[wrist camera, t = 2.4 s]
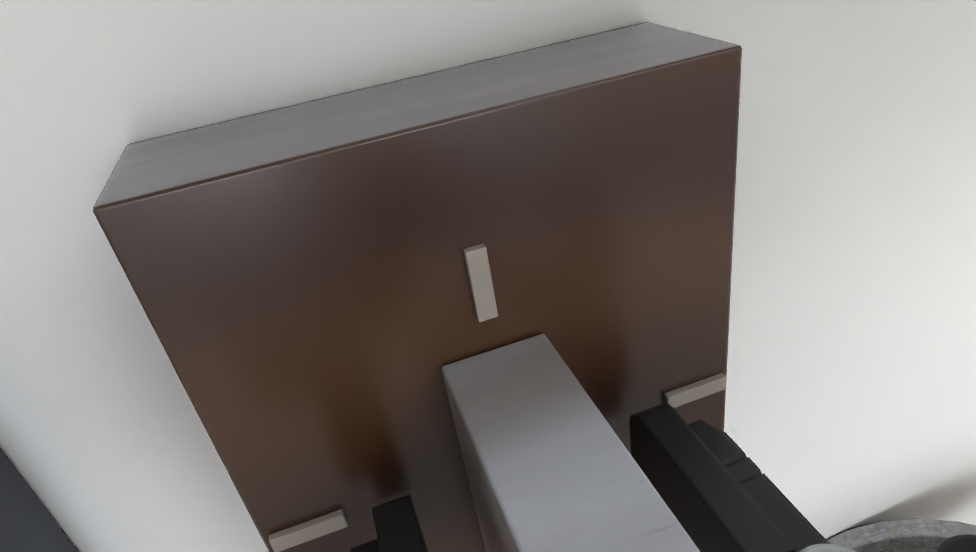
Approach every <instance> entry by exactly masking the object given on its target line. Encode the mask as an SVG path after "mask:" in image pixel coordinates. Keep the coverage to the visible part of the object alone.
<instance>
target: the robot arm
mask: <svg viewBox="0 0 976 552" xmlns="http://www.w3.org/2000/svg"><path fill="white" fill-rule="evenodd" d="M629 428H630V446H631V456H632V457H633V458H634V460H635V461H636V463H637V464H638V465H639V467H640V468H641V470H642V471H643V472H644V474H645V475H646V477H647V478H648V479H649V481H650V482H651V484H652V485H653V486H654V488H655V489H656V491H657V492H658V493H659V495H660V496H661V498H662V499H663V500H664V502H665V503H666V505H667V506H668V507H669V509H670V510H671V512H672V513H673V514H674V516H675V517H676V519H677V520H678V521H679V523H680V524H681V526H682V527H683V528H684V530H685V531H686V533H687V534H688V535H689V537H690V538H691V540H692V541H693V542H694V544H695V545H696V547H697V548H698V549H699V551H700V552H856V551H854V550H852V549H849V548H847V547H844V546H840V545H836V544H831V543H830V542H829V541H827V540H826V539H825V538H824V537H823V536H822V535H821V534H820V533H819V532H818V531H817V530H816V529H815V528H814V527H813V526H812V525H811V524H810V522H809V521H808V520H807V519H806V518H805V517H804V516H803V515H802V514H801V513H800V512H799V511H798V510H797V509H796V507H795V506H794V505H793V504H792V503H791V502H790V501H789V500H788V499H787V498H786V497H785V496H784V495H783V494H782V492H781V491H780V490H779V489H778V488H777V487H776V486H775V485H774V484H773V483H772V482H771V481H770V480H769V479H768V477H767V476H766V475H765V474H762V473H761V471H760V469H759V468H758V467H757V466H756V465H755V463H754V462H753V461H752V460H751V459H750V458H749V457H748V458H747V457H746V455H745V453H744V452H743V451H742V450H741V448H740V447H739V446H738V445H737V444H736V443H735V442H734V441H733V440H732V439H731V438H730V437H729V436H728V435H727V433H725V432H723V431H721V430H719V429H717V428H716V427H714V426H712V425H710V424H708V423H706V422H705V421H703V420H698V421H696V422H693V423H690V424H687V423H686V422H685V421H684V419H683V418H682V417H681V416H680V415H679V414H678V413H677V411H676V410H675V409H674V408H673V407H672V406H671V405H669V404H667V403H663V404H661V405H658V406H655V407H652V408H649V409H647V410H644V411H641V412H638V413H636V414H633V415H631V416H630V419H629ZM372 513H373V519H374V523H375V528H376V533H377V538H378V539H375V540H373V541H370V542H367V543H364V544H362V545H359V546H356V547H354V548H351V551H350V552H428V550H427V547H426V543H425V540H424V537H423V534H422V531H421V528H420V524H419V521H418V518H417V515H416V512H415V509H414V505H413V502H412V499H411V496H410V494H409V495H406V496H404V497H401V498H398V499H395V500H393V501H390V502H387V503H384V504H382V505H379V506H376V507H373V508H372ZM937 552H976V535H972V534H964V535H957V536H953V537H951V538H949V539H946V540H945V541H944V542H943V543H942V544H941V545H940V547H939V548H938V551H937Z"/></svg>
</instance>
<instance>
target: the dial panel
mask: <svg viewBox="0 0 976 552" xmlns="http://www.w3.org/2000/svg"><path fill="white" fill-rule="evenodd" d="M741 56H742V48H741V46H740V45H736V44H732V43H728V42H724V41H720V40H716V39H712V38H708V37H704V36H700V35H696V34H692V33H688V32H684V31H681V30H677V29H673V28H669V27H665V26H661V25H657V24H653V23H649V22H646V23H642V24H637V25H633V26H629V27H625V28H620V29H616V30H612V31H608V32H603V33H599V34H595V35H591V36H586V37H582V38H578V39H574V40H569V41H565V42H561V43H557V44H552V45H548V46H544V47H540V48H535V49H531V50H527V51H523V52H518V53H514V54H510V55H506V56H501V57H497V58H493V59H489V60H484V61H480V62H476V63H472V64H467V65H463V66H459V67H455V68H450V69H446V70H442V71H438V72H434V73H429V74H425V75H421V76H417V77H412V78H408V79H404V80H400V81H395V82H391V83H387V84H383V85H378V86H374V87H370V88H366V89H361V90H357V91H353V92H349V93H344V94H340V95H336V96H332V97H327V98H323V99H319V100H315V101H310V102H306V103H302V104H298V105H293V106H289V107H285V108H281V109H276V110H272V111H268V112H264V113H259V114H255V115H251V116H247V117H242V118H238V119H234V120H230V121H225V122H221V123H217V124H213V125H209V126H204V127H200V128H196V129H192V130H187V131H183V132H179V133H175V134H170V135H166V136H162V137H158V138H153V139H149V140H145V141H141V142H136V143H132V144H129V145H127V146H126V148H125V150H124V152H123V154H122V156H121V157H120V159H119V161H118V163H117V165H116V167H115V168H114V170H113V172H112V174H111V176H110V178H109V179H108V181H107V183H106V185H105V187H104V189H103V190H102V192H101V194H100V196H99V198H98V200H97V202H96V203H95V205H94V207H93V212H94V214H95V216H96V218H97V220H98V222H99V224H100V226H101V228H102V230H103V231H104V233H105V235H106V237H107V239H108V241H109V243H110V245H111V247H112V249H113V251H114V253H115V255H116V257H117V259H118V260H119V262H120V264H121V266H122V268H123V270H124V272H125V274H126V276H127V278H128V280H129V282H130V284H131V286H132V288H133V290H134V291H135V293H136V295H137V297H138V299H139V301H140V303H141V305H142V307H143V309H144V311H145V313H146V315H147V317H148V319H149V320H150V322H151V324H152V326H153V328H154V330H155V332H156V334H157V336H158V338H159V340H160V342H161V344H162V346H163V348H164V350H165V351H166V353H167V355H168V357H169V359H170V361H171V363H172V365H173V367H174V369H175V371H176V373H177V375H178V377H179V379H180V380H181V382H182V384H183V386H184V388H185V390H186V392H187V394H188V396H189V398H190V400H191V402H192V404H193V406H194V408H195V409H196V411H197V413H198V415H199V417H200V419H201V421H202V423H203V425H204V427H205V429H206V431H207V433H208V435H209V437H210V439H211V440H212V442H213V444H214V446H215V448H216V450H217V452H218V454H219V456H220V458H221V460H222V462H223V464H224V466H225V468H226V469H227V471H228V473H229V475H230V477H231V479H232V481H233V483H234V485H235V487H236V489H237V491H238V493H239V495H240V497H241V499H242V500H243V502H244V504H245V506H246V508H247V510H248V512H249V514H250V516H251V518H252V520H253V522H254V524H255V526H256V528H257V529H258V531H259V533H260V535H261V537H262V539H263V541H264V543H265V545H266V547H267V549H268V551H269V552H350V551H351V548H354V547H356V546H359V545H362V544H364V543H367V542H370V541H373V540H375V539H378V538H377V533H376V528H375V523H374V519H373V513H372V508H373V507H376V506H379V505H382V504H384V503H387V502H390V501H393V500H395V499H398V498H401V497H404V496H406V495H409V494H410V496H411V499H412V502H413V505H414V509H415V512H416V515H417V518H418V521H419V524H420V528H421V531H422V534H423V537H424V540H425V543H426V547H427V550H428V552H486V551H485V547H484V543H483V538H482V534H481V530H480V526H479V522H478V518H477V514H476V510H475V506H474V502H473V498H472V494H471V489H470V485H469V481H468V477H467V473H466V469H465V465H464V461H463V457H462V453H461V449H460V444H459V440H458V436H457V432H456V428H455V424H454V420H453V416H452V412H451V408H450V404H449V399H448V395H447V391H446V387H445V383H444V379H443V375H442V371H441V370H442V367H443V366H445V365H448V364H451V363H454V362H457V361H460V360H463V359H466V358H469V357H472V356H476V355H479V354H482V353H485V352H488V351H491V350H494V349H497V348H500V347H503V346H506V345H509V344H512V343H515V342H519V341H522V340H525V339H528V338H531V337H534V336H537V335H540V334H545V336H546V337H547V338H548V340H549V341H550V342H551V344H552V345H553V347H554V348H555V349H556V351H557V352H558V354H559V355H560V356H561V358H562V359H563V361H564V362H565V363H566V365H567V366H568V368H569V369H570V370H571V372H572V373H573V375H574V376H575V377H576V379H577V380H578V382H579V383H580V384H581V386H582V387H583V389H584V390H585V391H586V393H587V394H588V396H589V397H590V398H591V400H592V401H593V403H594V404H595V405H596V407H597V408H598V410H599V411H600V412H601V414H602V415H603V417H604V418H605V419H606V421H607V422H608V424H609V425H610V426H611V428H612V429H613V431H614V432H615V433H616V435H617V436H618V438H619V439H620V440H621V442H622V443H623V444H624V446H625V447H626V449H627V450H628V451H629V453H630V454H631V446H630V428H629V419H630V416H631V415H633V414H636V413H638V412H641V411H644V410H647V409H649V408H652V407H655V406H658V405H661V404H663V403H667V404H669V405H671V406H672V407H673V408H674V409H675V410H676V411H677V413H678V414H679V415H680V416H681V417H682V418H683V419H684V421H685V422H686V423H687V424H690V423H693V422H696V421H698V420H703V421H705V422H706V423H708V424H710V425H712V426H714V427H716V428H717V429H719V430H721V431H723V432H724V416H725V394H726V373H727V352H728V331H729V310H730V289H731V268H732V246H733V225H734V204H735V183H736V162H737V141H738V120H739V98H740V77H741Z"/></svg>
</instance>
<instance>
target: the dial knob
mask: <svg viewBox="0 0 976 552" xmlns="http://www.w3.org/2000/svg"><path fill="white" fill-rule="evenodd" d="M441 371H442V375H443V379H444V383H445V387H446V391H447V395H448V399H449V404H450V408H451V412H452V416H453V420H454V424H455V428H456V432H457V436H458V440H459V444H460V449H461V453H462V457H463V461H464V465H465V469H466V473H467V477H468V481H469V485H470V489H471V494H472V498H473V502H474V506H475V510H476V514H477V518H478V522H479V526H480V530H481V534H482V538H483V543H484V547H485V551H486V552H700V551H699V549H698V548H697V547H696V545H695V544H694V542H693V541H692V540H691V538H690V537H689V535H688V534H687V533H686V531H685V530H684V528H683V527H682V526H681V524H680V523H679V521H678V520H677V519H676V517H675V516H674V514H673V513H672V512H671V510H670V509H669V507H668V506H667V505H666V503H665V502H664V500H663V499H662V498H661V496H660V495H659V493H658V492H657V491H656V489H655V488H654V486H653V485H652V484H651V482H650V481H649V479H648V478H647V477H646V475H645V474H644V472H643V471H642V470H641V468H640V467H639V465H638V464H637V463H636V461H635V460H634V458H633V457H632V456H631V454H630V453H629V451H628V450H627V449H626V447H625V446H624V444H623V443H622V442H621V440H620V439H619V438H618V436H617V435H616V433H615V432H614V431H613V429H612V428H611V426H610V425H609V424H608V422H607V421H606V419H605V418H604V417H603V415H602V414H601V412H600V411H599V410H598V408H597V407H596V405H595V404H594V403H593V401H592V400H591V398H590V397H589V396H588V394H587V393H586V391H585V390H584V389H583V387H582V386H581V384H580V383H579V382H578V380H577V379H576V377H575V376H574V375H573V373H572V372H571V370H570V369H569V368H568V366H567V365H566V363H565V362H564V361H563V359H562V358H561V356H560V355H559V354H558V352H557V351H556V349H555V348H554V347H553V345H552V344H551V342H550V341H549V340H548V338H547V337H546V336H545V334H540V335H537V336H534V337H531V338H528V339H525V340H522V341H519V342H515V343H512V344H509V345H506V346H503V347H500V348H497V349H494V350H491V351H488V352H485V353H482V354H479V355H476V356H472V357H469V358H466V359H463V360H460V361H457V362H454V363H451V364H448V365H445V366H443V367H442V370H441Z"/></svg>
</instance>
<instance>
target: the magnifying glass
mask: <svg viewBox="0 0 976 552" xmlns="http://www.w3.org/2000/svg"><path fill="white" fill-rule="evenodd" d="M964 534H972V535H976V526H975V525H970V524H965V523H961V522H954V521H941V520H928V519H906V520H894V521H881V522H877V523H873V524H869V525H865V526H862V527H858V528H854V529H850V530H847V531H845V532H843V533H841V534H839V535H837V536H834V537H832V538H830V539H828V540H827V541H829V542H830V543H831V544H836V545H840V546H844V547H847V548H849V549H852V550H854V551H856V552H937V551H938V548H939V547H940V545H941V544H942V543H943V542H944V541H945V540H946V539H949V538H951V537H953V536H957V535H964Z"/></svg>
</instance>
